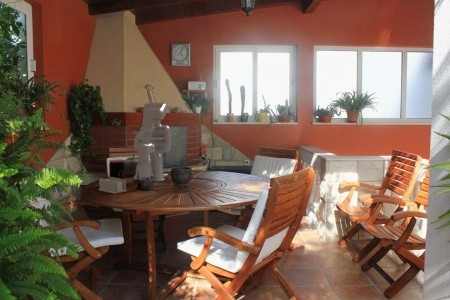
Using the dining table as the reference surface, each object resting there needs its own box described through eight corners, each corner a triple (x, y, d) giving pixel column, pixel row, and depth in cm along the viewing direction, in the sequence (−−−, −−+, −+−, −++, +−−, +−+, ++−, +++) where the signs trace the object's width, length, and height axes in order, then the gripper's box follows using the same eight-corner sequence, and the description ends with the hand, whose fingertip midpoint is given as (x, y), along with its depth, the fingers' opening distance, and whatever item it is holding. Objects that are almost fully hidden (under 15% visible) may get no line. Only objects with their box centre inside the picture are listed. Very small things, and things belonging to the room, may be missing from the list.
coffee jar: (120, 186, 294) (119, 161, 292) (107, 185, 296) (106, 161, 294) (127, 183, 305) (126, 159, 303) (114, 183, 307) (113, 159, 305)
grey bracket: (140, 187, 290) (140, 178, 290) (153, 189, 281) (152, 180, 281) (132, 188, 285) (131, 180, 284) (144, 191, 276) (144, 182, 275)
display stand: (111, 187, 288) (111, 176, 287) (126, 191, 276) (126, 179, 275) (98, 190, 280) (98, 178, 279) (113, 193, 268) (113, 181, 268)
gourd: (152, 168, 360) (149, 150, 355) (149, 178, 336) (145, 158, 331) (124, 172, 359) (120, 153, 354) (118, 181, 335) (114, 161, 330)
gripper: (150, 160, 291) (150, 184, 293) (129, 162, 278) (130, 188, 280) (156, 161, 286) (157, 185, 288) (136, 163, 273) (137, 189, 275)
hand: (144, 187), depth 284 cm, fingers open, 7 cm apart
